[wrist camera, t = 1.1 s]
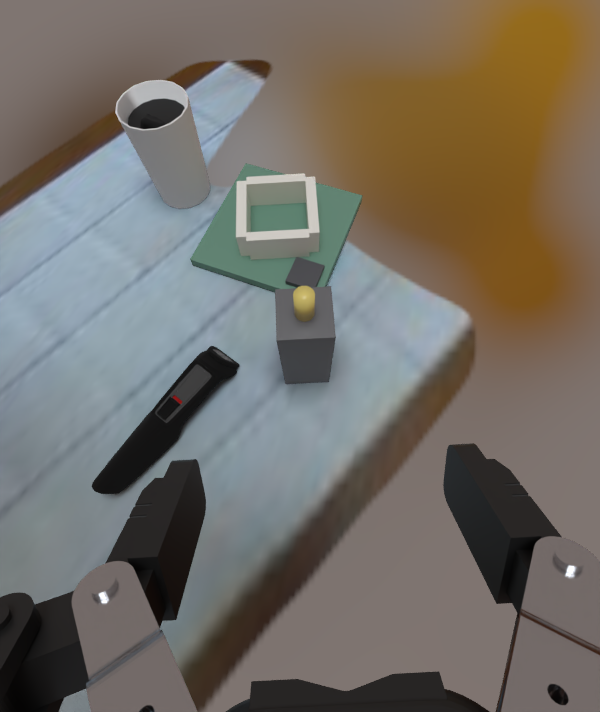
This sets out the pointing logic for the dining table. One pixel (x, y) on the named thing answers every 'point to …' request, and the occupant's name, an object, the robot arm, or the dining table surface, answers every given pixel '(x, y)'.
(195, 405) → the electric trimmer
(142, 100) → the grey cup
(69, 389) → the dining table surface
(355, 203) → the circuit board
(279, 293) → the plug
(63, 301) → the dining table surface
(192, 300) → the dining table surface
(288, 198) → the socket
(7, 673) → the robot arm
